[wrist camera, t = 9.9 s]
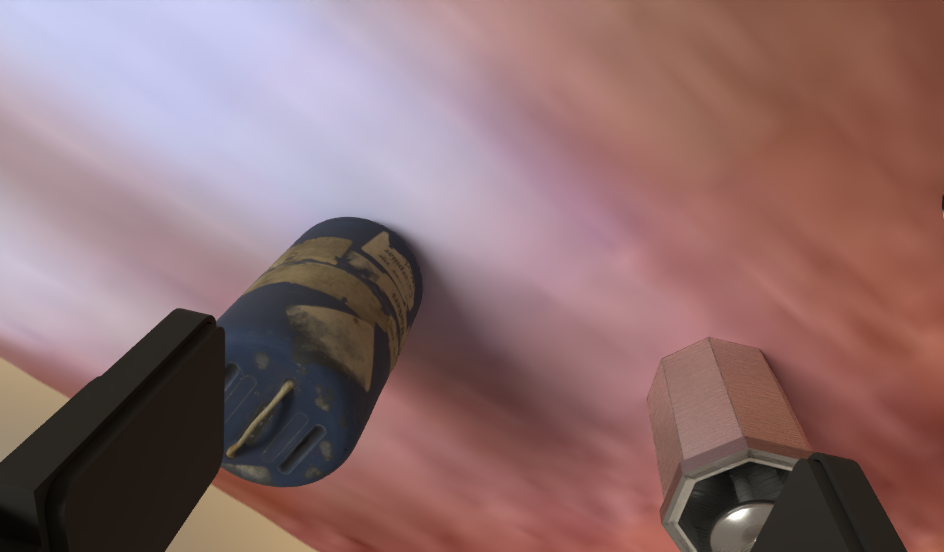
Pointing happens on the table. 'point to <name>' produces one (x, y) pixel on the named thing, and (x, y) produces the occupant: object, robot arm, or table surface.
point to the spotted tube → (943, 205)
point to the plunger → (740, 517)
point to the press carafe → (718, 434)
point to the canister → (315, 350)
